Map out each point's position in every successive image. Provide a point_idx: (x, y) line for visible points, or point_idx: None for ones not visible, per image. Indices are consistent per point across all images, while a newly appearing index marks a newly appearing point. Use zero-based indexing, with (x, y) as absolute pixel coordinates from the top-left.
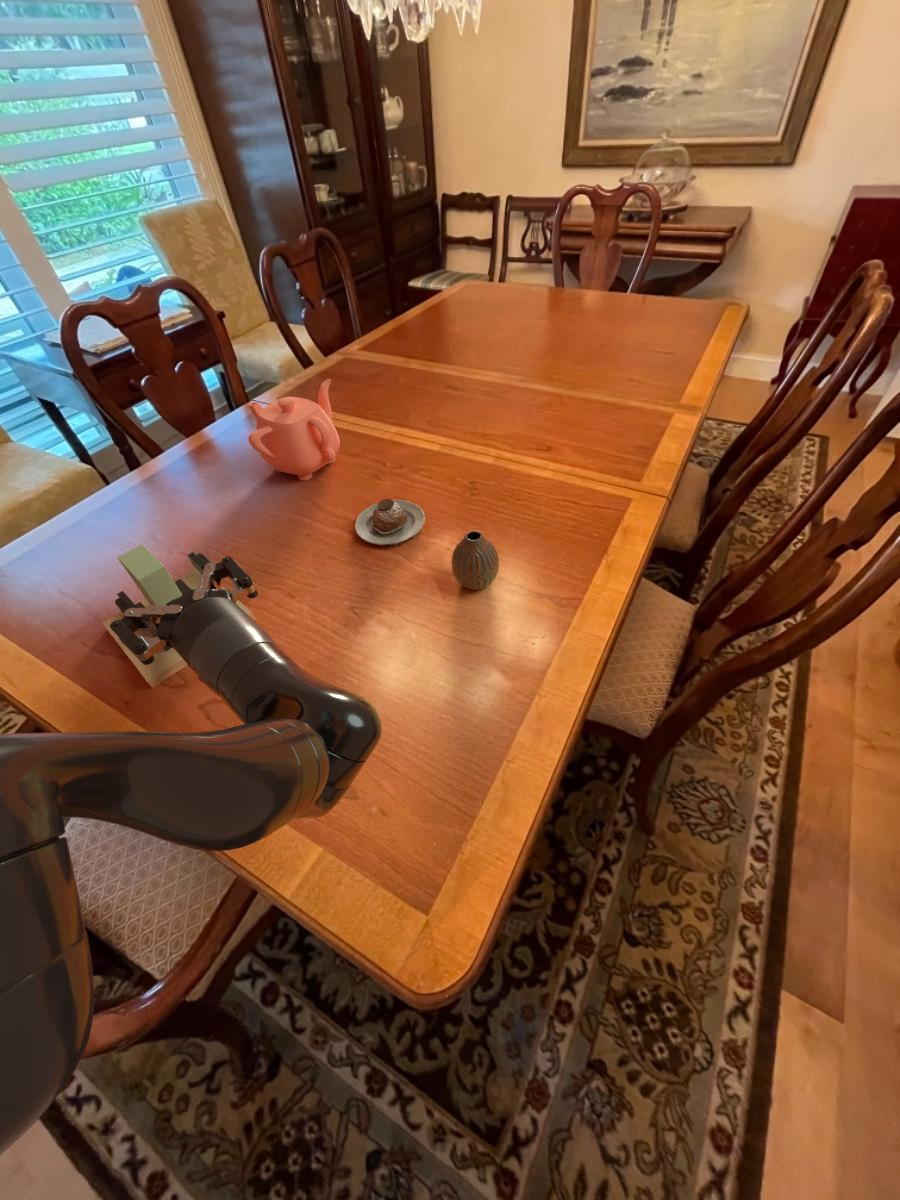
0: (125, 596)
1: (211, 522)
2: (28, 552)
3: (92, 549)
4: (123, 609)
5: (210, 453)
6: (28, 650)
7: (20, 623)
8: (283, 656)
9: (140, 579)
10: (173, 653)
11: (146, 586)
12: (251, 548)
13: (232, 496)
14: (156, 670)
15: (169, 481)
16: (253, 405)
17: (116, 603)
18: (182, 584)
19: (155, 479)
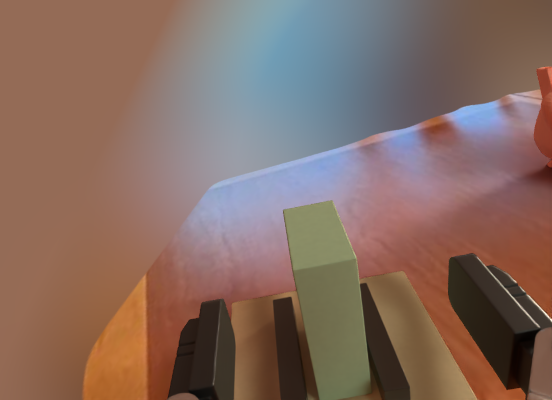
0: (213, 326)
1: (432, 210)
2: (226, 186)
3: (279, 200)
4: (180, 375)
5: (446, 133)
6: (148, 297)
7: (168, 257)
8: None
9: (297, 269)
10: None
11: (303, 288)
12: None
13: (470, 184)
14: None
15: (389, 152)
16: (548, 68)
17: (182, 335)
18: (366, 295)
19: (374, 147)
